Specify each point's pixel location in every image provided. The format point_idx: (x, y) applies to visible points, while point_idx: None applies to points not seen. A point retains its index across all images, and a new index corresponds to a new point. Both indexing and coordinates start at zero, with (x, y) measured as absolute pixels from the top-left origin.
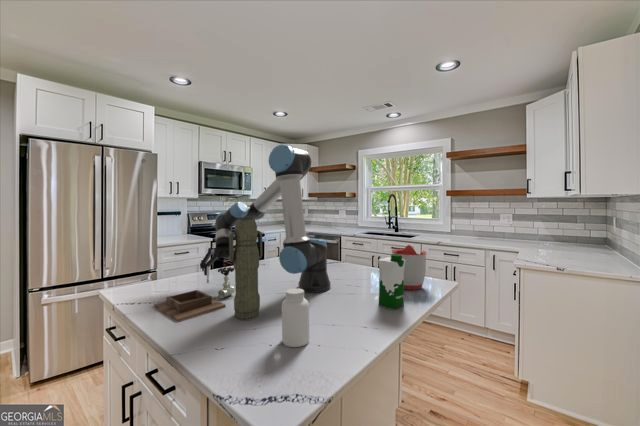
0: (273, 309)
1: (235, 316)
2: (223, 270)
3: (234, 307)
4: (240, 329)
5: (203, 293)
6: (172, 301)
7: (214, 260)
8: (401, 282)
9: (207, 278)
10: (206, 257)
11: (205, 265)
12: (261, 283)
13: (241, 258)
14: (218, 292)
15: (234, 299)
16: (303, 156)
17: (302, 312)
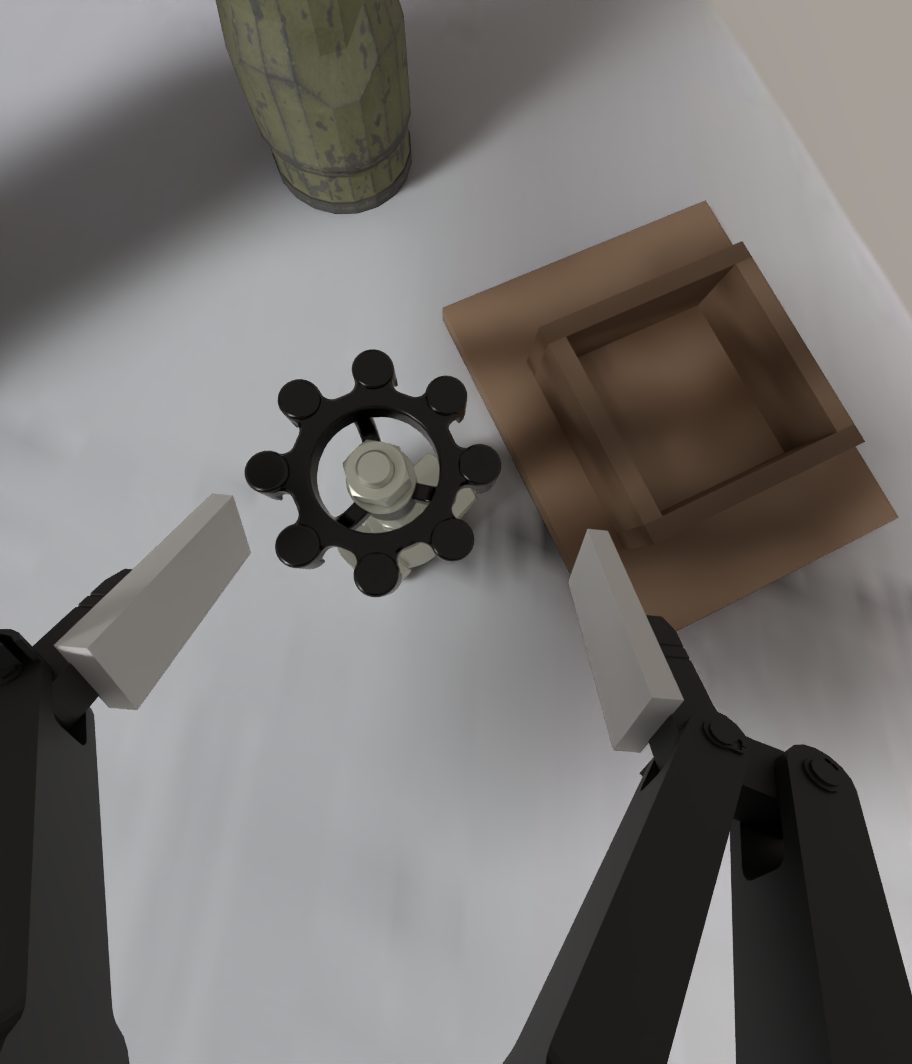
0: (183, 174)
1: (409, 134)
2: (422, 395)
3: (408, 82)
4: (408, 22)
5: (598, 418)
6: (799, 351)
7: (570, 951)
8: None
9: (603, 540)
10: (859, 1053)
11: (724, 727)
12: None
13: None
14: (474, 496)
15: (401, 9)
16: None
17: None
